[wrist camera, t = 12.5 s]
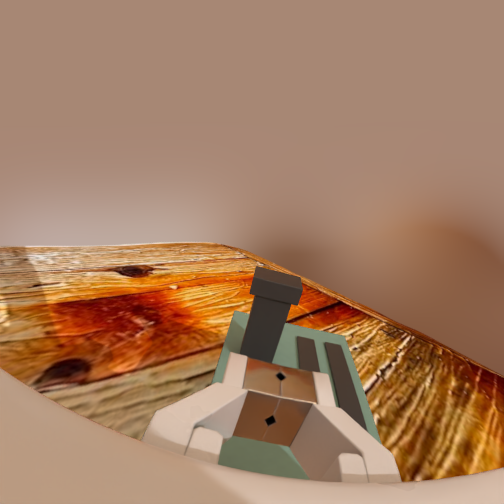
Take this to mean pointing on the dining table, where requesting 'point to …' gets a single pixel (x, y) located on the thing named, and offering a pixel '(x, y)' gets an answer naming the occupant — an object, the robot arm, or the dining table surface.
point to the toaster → (305, 358)
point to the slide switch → (269, 312)
